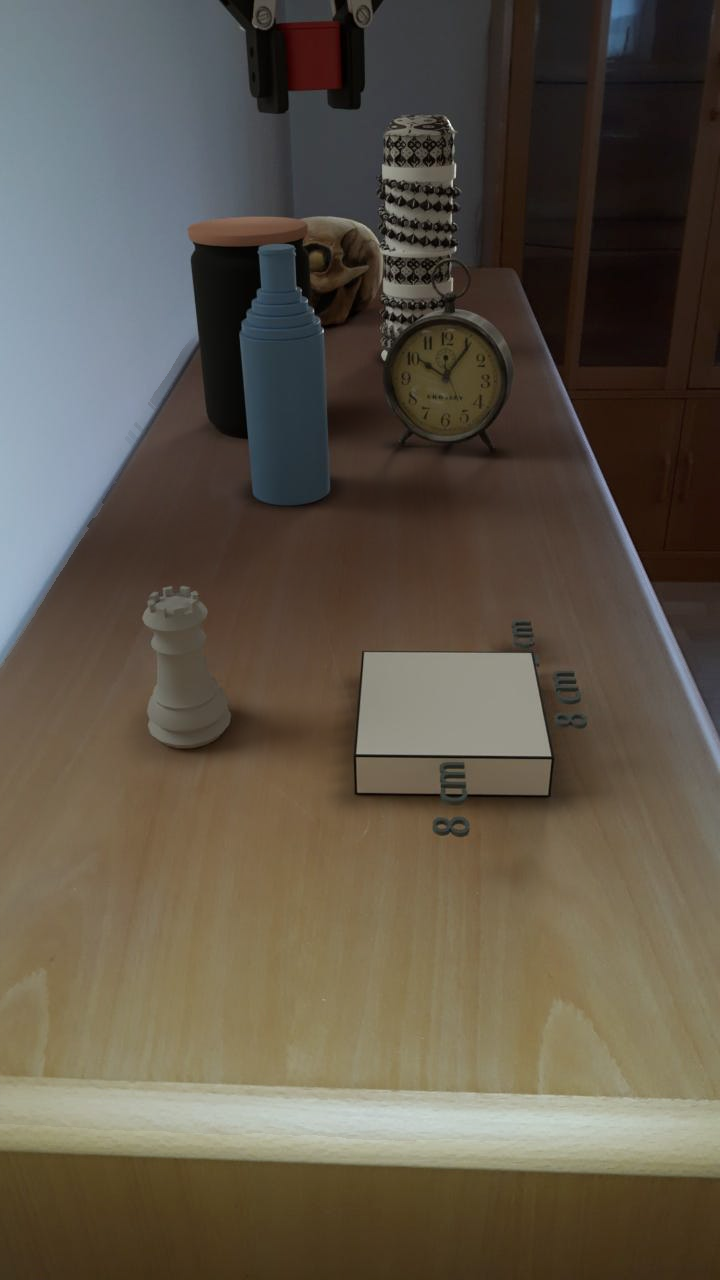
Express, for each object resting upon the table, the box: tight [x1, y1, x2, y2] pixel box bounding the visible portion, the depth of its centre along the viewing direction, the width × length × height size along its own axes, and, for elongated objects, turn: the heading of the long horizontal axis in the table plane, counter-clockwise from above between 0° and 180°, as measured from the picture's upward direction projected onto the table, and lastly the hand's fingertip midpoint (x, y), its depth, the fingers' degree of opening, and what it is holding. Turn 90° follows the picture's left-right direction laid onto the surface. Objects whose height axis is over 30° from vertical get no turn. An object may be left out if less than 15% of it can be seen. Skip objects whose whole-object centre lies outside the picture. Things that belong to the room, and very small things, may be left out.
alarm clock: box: [382, 257, 514, 454], centre depth 85 cm, size 11×5×16 cm, turn 73°
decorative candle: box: [375, 114, 462, 362], centre depth 109 cm, size 9×9×25 cm
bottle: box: [240, 244, 331, 506], centre depth 77 cm, size 6×6×19 cm
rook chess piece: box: [141, 585, 232, 750], centre depth 51 cm, size 4×4×8 cm
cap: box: [276, 20, 342, 92], centre depth 56 cm, size 4×4×3 cm
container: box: [353, 620, 588, 838], centre depth 51 cm, size 20×11×3 cm, turn 177°
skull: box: [299, 215, 384, 327], centre depth 132 cm, size 16×17×13 cm
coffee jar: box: [187, 216, 312, 439], centre depth 92 cm, size 11×11×18 cm
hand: (308, 106), depth 57 cm, fingers closed on cap, 3 cm apart
